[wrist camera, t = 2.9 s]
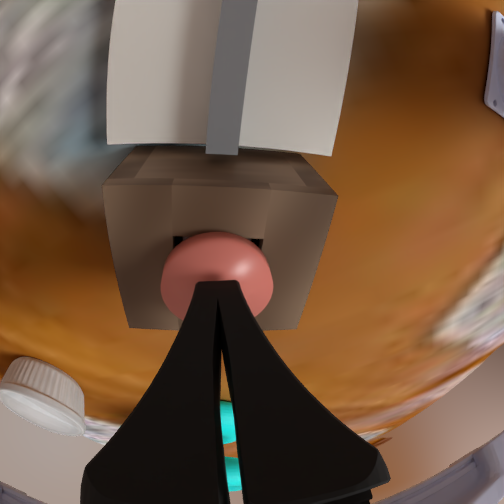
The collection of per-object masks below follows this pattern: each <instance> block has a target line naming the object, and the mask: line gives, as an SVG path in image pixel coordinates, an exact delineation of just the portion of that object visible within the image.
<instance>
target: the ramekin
mask: <svg viewBox="0 0 504 504" xmlns="http://www.w3.org/2000/svg"><path fill="white" fill-rule="evenodd" d="M0 401H1V402H2V403H3V404H4V405H5V406H6V407H7V408H8V409H10V410H11V411H12V412H13V413H15V414H17V415H18V416H19V417H21V418H23V419H25V420H26V421H28V422H30V423H32V424H34V425H36V426H38V427H41V428H43V429H45V430H48V431H51V432H54V433H58V434H62V435H67V436H80V435H83V434H84V433H85V430H86V424H85V422H84V395H83V392H82V390H81V388H80V386H79V385H78V383H77V382H76V381H75V380H74V379H73V378H72V377H70V376H69V375H68V374H66V373H65V372H63V371H62V370H60V369H58V368H57V367H55V366H53V365H51V364H49V363H47V362H44V361H42V360H39V359H36V358H32V357H19V358H17V359H15V360H14V361H13V362H12V363H11V364H10V366H9V368H8V370H7V371H6V373H5V375H4V377H3V379H2V381H1V383H0Z"/></svg>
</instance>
